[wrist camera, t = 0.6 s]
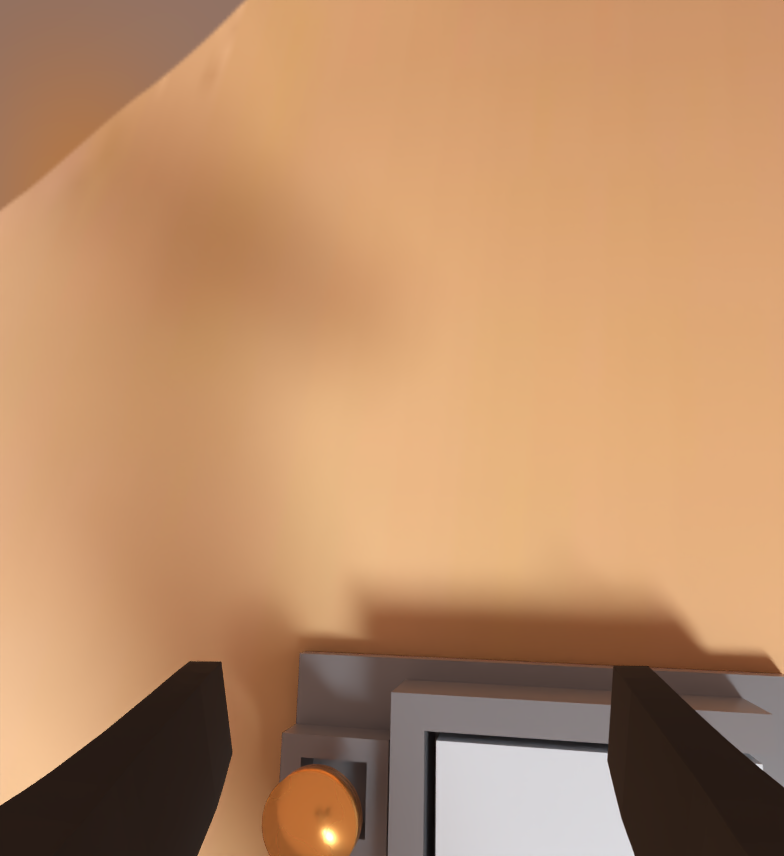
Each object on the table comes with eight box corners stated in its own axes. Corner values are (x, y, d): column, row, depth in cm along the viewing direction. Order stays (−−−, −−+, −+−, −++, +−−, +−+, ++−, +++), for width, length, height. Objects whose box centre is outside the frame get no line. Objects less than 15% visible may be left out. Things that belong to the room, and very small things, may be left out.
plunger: (371, 853, 29) (353, 886, 25) (286, 844, 29) (258, 875, 26) (374, 755, 29) (357, 776, 26) (291, 749, 30) (265, 768, 27)
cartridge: (750, 903, 27) (829, 1014, 20) (444, 869, 30) (420, 958, 23) (736, 744, 28) (805, 797, 22) (444, 724, 31) (422, 766, 24)
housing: (814, 974, 27) (872, 1052, 23) (293, 907, 32) (255, 961, 27) (782, 673, 30) (828, 691, 25) (305, 651, 34) (273, 662, 30)
